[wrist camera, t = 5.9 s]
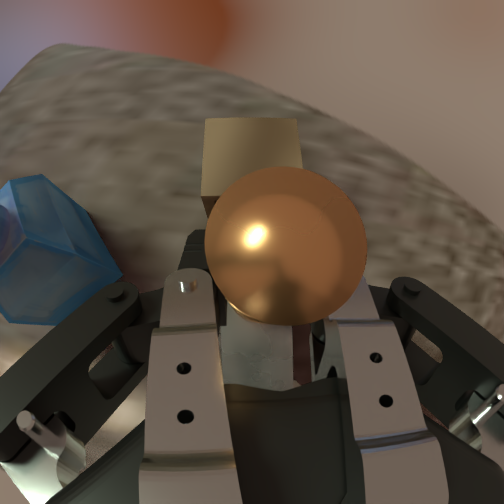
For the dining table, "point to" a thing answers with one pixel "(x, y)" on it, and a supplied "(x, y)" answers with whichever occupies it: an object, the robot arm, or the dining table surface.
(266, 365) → the grey bar with post
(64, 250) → the perfume bottle
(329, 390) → the robot arm
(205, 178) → the socket block
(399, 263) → the dining table surface
